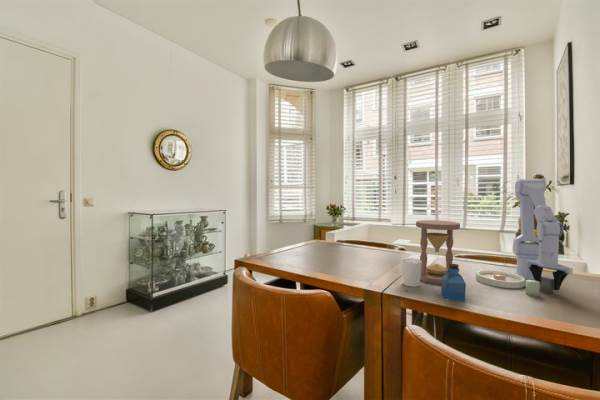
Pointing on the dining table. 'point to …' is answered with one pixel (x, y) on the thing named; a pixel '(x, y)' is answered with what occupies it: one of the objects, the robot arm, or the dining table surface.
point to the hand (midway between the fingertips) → (547, 287)
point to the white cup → (411, 272)
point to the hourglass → (437, 240)
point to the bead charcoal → (547, 285)
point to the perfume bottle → (453, 284)
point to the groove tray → (500, 278)
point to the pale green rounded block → (532, 287)
